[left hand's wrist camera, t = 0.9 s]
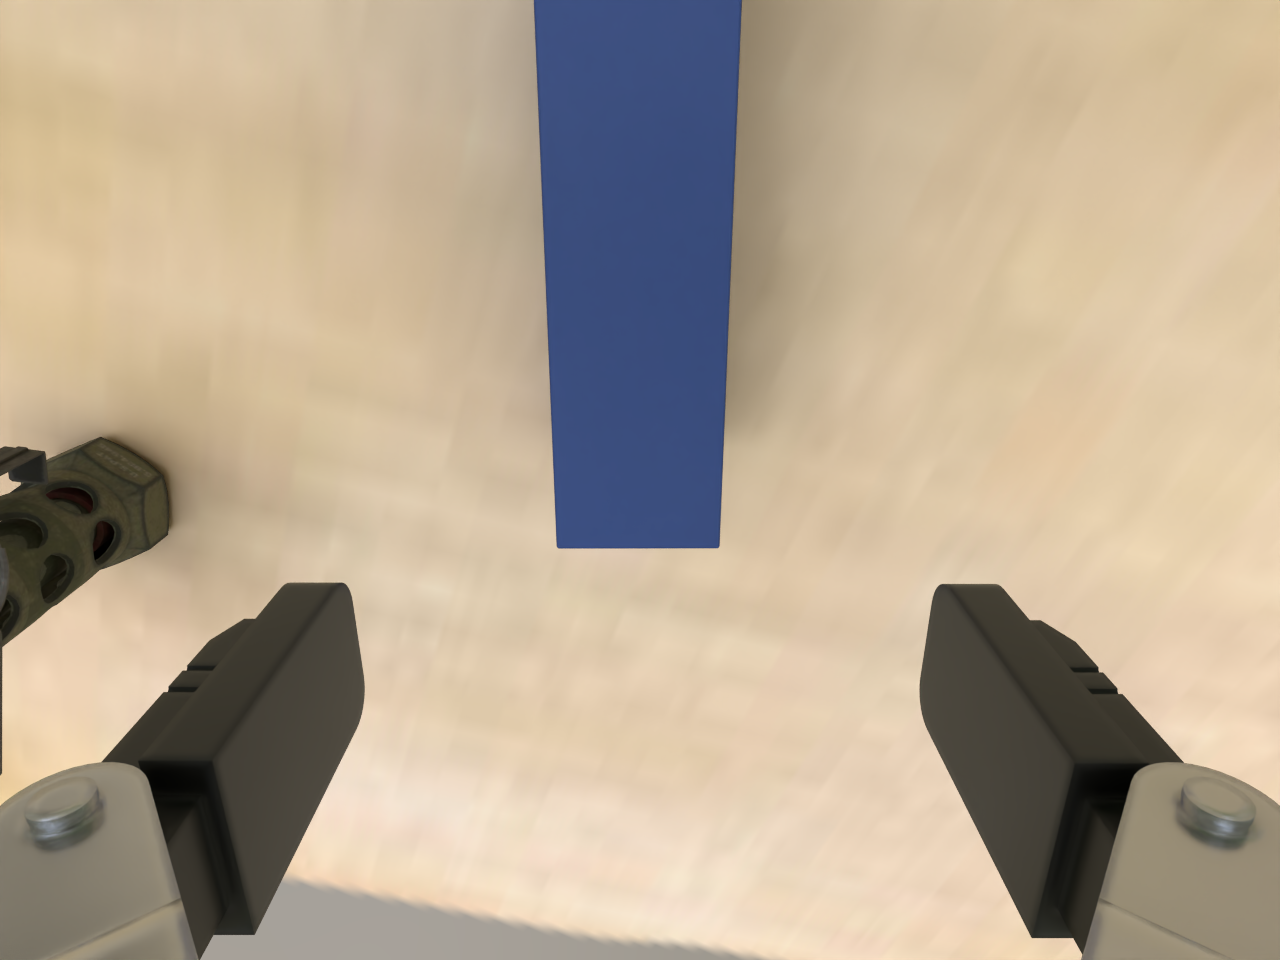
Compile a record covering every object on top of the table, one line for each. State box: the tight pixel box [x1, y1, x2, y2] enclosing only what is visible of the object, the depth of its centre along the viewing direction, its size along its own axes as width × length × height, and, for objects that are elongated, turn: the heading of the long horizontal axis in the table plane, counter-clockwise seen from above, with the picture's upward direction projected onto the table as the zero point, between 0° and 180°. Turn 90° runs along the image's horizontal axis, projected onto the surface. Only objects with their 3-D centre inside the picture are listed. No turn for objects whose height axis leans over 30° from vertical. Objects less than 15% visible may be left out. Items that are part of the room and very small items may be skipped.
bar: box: [534, 0, 742, 548], centre depth 22 cm, size 27×5×8 cm, turn 0°
